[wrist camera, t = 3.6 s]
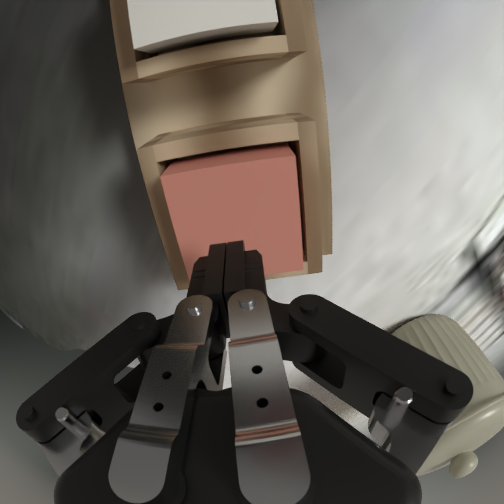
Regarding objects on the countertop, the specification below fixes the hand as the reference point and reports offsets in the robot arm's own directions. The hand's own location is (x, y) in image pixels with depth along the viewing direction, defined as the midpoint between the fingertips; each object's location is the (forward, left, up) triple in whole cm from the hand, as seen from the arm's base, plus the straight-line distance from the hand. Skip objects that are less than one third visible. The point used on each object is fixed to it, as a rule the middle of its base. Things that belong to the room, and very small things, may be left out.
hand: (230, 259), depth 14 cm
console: (0, -7, -12) cm, 14 cm away
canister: (-20, +25, -12) cm, 34 cm away
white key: (0, -14, -6) cm, 15 cm away
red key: (0, 0, -6) cm, 6 cm away
